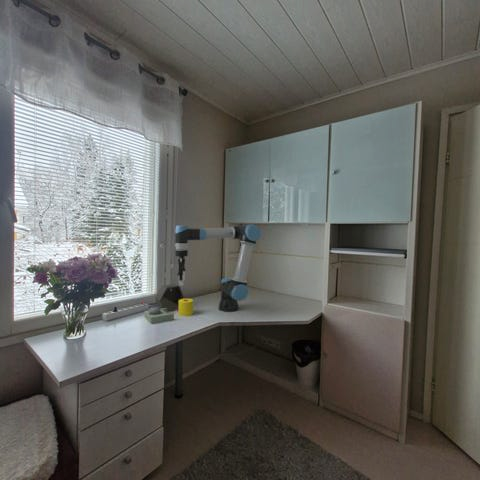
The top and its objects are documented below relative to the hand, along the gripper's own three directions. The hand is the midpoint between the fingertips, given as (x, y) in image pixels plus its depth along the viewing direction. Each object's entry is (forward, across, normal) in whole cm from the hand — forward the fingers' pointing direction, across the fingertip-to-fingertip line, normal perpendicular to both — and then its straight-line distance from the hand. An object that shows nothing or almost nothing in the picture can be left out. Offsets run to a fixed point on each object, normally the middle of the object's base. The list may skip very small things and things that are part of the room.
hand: (181, 283), depth 162 cm
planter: (+25, -27, -11) cm, 38 cm away
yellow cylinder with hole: (+25, -16, +1) cm, 30 cm away
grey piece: (+25, -7, -15) cm, 30 cm away
